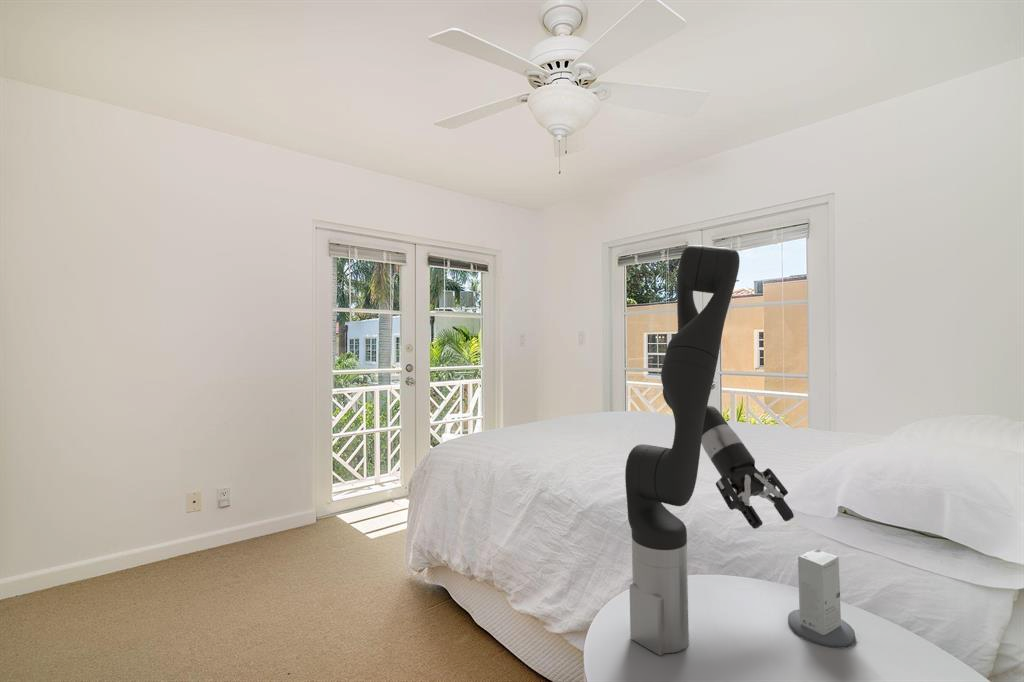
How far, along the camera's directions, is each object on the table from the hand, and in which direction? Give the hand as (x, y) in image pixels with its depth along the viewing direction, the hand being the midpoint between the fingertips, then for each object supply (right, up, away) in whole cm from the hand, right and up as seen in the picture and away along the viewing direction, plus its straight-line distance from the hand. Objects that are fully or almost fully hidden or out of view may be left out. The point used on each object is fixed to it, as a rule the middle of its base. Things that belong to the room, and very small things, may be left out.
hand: (774, 522), depth 94 cm
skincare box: (+4, -15, -8) cm, 18 cm away
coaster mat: (+4, -16, -8) cm, 18 cm away
